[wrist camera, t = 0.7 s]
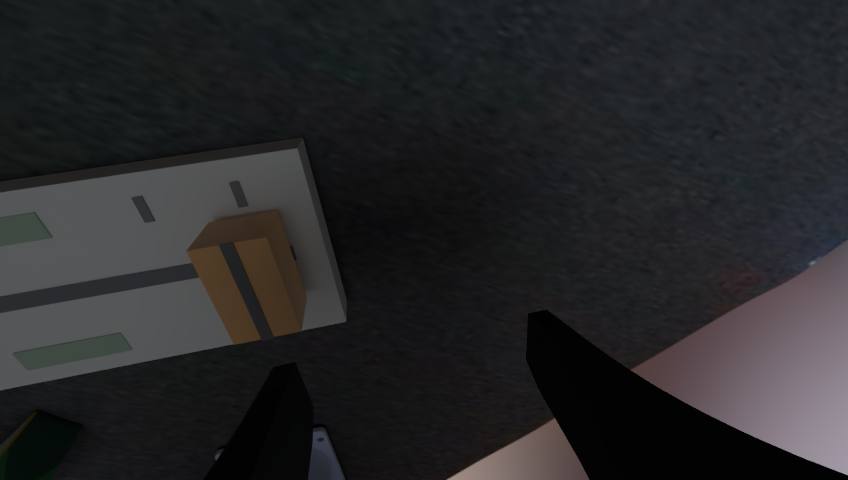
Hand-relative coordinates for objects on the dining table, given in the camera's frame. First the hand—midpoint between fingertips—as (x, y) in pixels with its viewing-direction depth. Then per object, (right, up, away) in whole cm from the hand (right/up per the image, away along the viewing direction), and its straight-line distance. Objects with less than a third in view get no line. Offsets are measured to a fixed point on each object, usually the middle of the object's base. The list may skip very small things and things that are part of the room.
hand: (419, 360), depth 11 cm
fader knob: (-8, +3, +6) cm, 10 cm away
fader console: (-16, +2, +8) cm, 18 cm away
